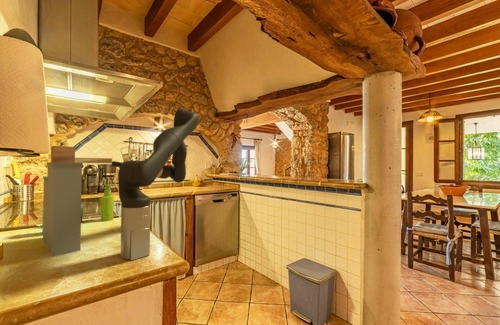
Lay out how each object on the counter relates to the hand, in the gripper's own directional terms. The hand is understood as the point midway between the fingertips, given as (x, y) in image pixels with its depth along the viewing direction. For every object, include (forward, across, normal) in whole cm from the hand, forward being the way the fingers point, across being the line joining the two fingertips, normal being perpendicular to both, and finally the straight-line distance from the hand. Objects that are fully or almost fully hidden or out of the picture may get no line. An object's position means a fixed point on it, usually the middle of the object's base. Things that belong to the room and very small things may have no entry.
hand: (117, 163), depth 98 cm
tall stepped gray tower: (+10, -10, +34) cm, 37 cm away
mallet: (+11, -3, +2) cm, 12 cm away
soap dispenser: (-19, -34, +30) cm, 49 cm away
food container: (-7, -40, +32) cm, 52 cm away
